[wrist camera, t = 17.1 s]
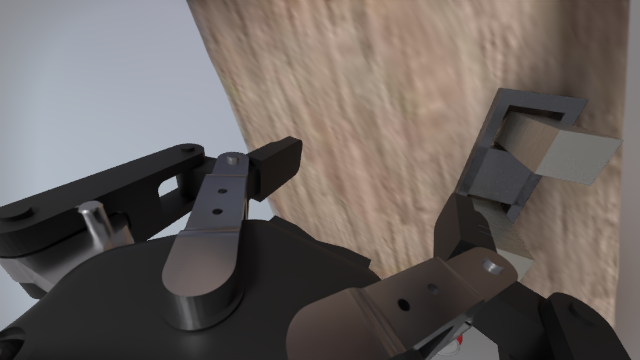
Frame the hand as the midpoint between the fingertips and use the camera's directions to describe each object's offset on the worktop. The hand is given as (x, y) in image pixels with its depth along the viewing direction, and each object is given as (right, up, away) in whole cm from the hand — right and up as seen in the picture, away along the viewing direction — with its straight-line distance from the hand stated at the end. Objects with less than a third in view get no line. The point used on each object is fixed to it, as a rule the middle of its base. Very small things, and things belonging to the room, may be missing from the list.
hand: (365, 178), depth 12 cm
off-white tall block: (+25, -5, +28) cm, 38 cm away
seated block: (+27, +8, +22) cm, 35 cm away
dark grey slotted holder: (+26, +1, +25) cm, 36 cm away
